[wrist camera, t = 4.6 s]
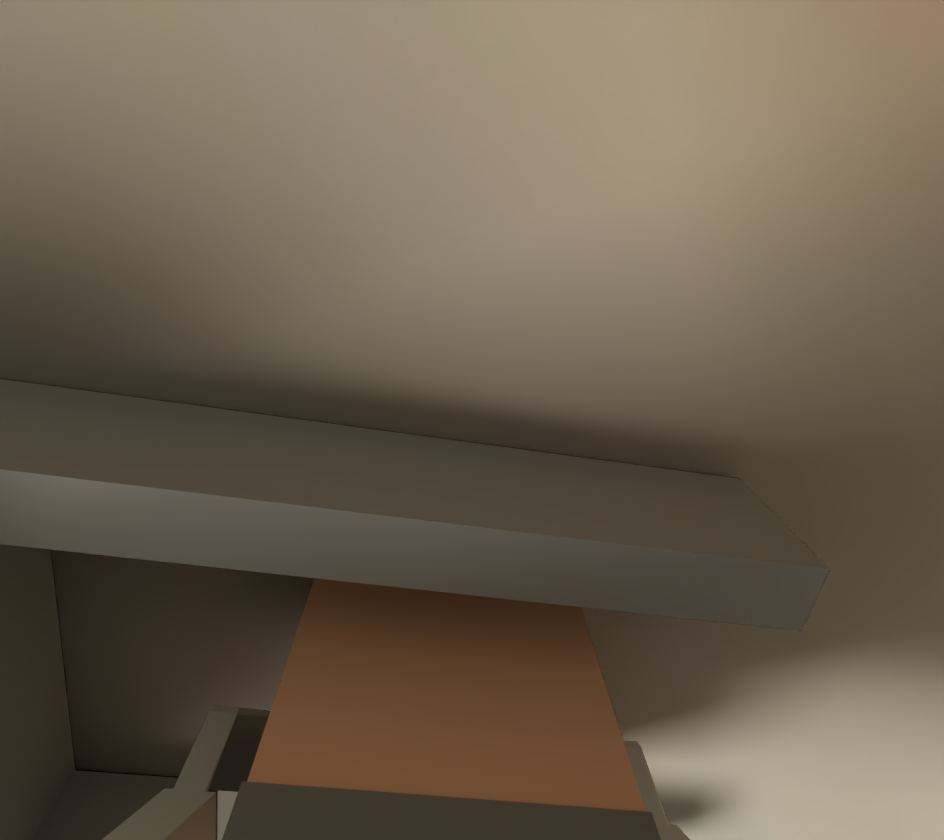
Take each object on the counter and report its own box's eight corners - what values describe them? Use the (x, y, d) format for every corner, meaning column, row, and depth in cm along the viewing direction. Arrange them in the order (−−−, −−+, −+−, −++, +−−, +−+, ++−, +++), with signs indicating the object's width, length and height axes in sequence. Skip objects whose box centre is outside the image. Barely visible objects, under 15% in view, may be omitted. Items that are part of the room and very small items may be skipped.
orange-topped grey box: (306, 750, 14) (212, 1130, 8) (325, 534, 12) (217, 851, 6) (514, 767, 15) (558, 1135, 9) (569, 563, 12) (674, 880, 7)
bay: (27, 801, 14) (-74, 950, 12) (-41, 373, 10) (-220, 442, 8) (604, 840, 16) (639, 981, 13) (739, 478, 12) (830, 569, 9)
